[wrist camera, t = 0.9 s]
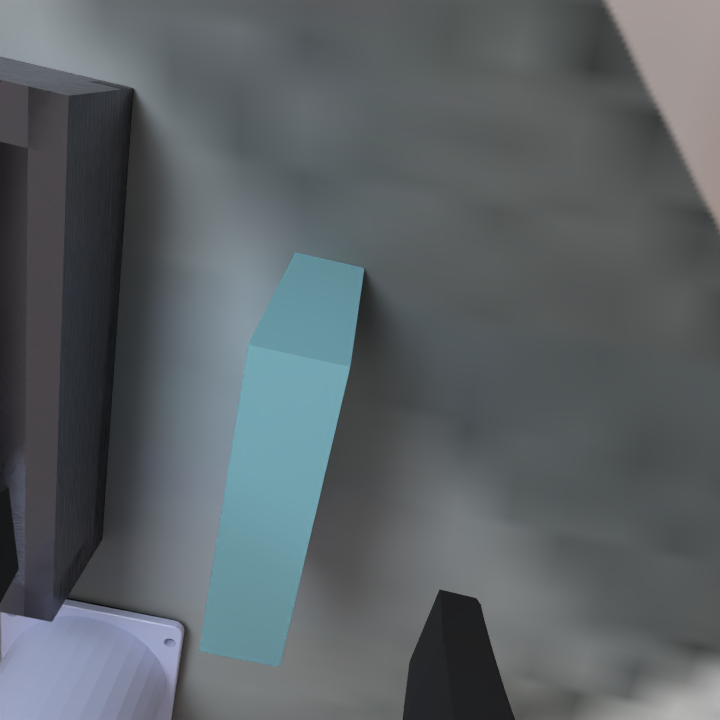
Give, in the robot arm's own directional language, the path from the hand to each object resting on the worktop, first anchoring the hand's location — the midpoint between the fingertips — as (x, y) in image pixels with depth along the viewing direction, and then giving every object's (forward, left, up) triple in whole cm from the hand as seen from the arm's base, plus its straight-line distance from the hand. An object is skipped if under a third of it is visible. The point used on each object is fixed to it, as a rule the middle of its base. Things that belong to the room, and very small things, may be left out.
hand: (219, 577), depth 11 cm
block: (-3, 0, -14) cm, 14 cm away
